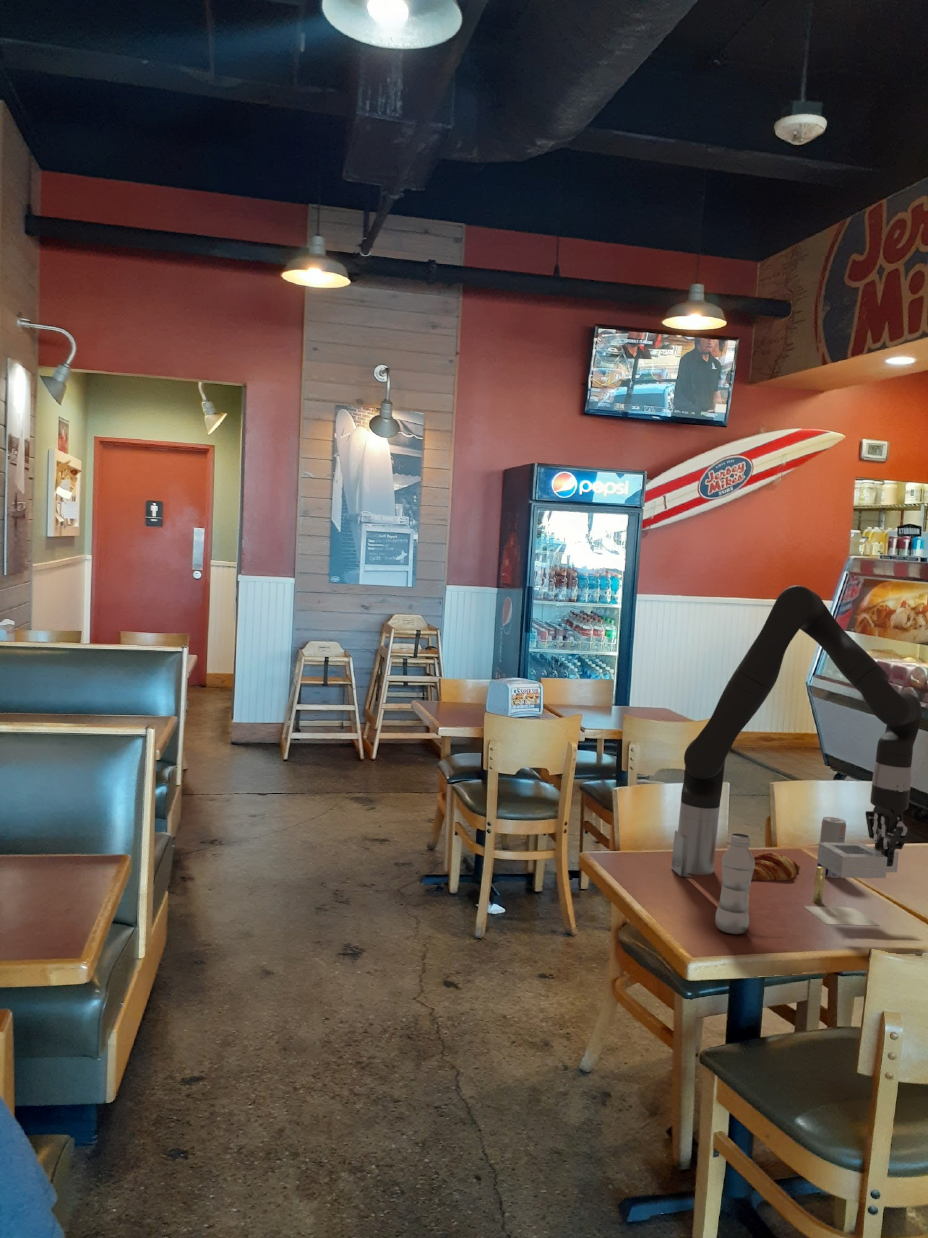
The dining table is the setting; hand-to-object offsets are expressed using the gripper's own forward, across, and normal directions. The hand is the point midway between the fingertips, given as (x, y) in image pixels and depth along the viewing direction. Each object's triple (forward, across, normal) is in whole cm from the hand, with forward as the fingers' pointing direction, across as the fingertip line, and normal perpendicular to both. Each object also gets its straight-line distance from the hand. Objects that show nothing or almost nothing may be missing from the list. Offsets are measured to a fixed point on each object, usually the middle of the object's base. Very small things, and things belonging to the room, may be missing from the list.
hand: (883, 863), depth 201 cm
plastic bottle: (+13, +8, -37) cm, 40 cm away
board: (+13, -4, -8) cm, 16 cm away
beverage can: (+13, -28, +4) cm, 32 cm away
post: (+12, -8, -10) cm, 17 cm away
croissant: (+14, -27, -11) cm, 32 cm away
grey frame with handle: (+2, 0, -5) cm, 5 cm away
